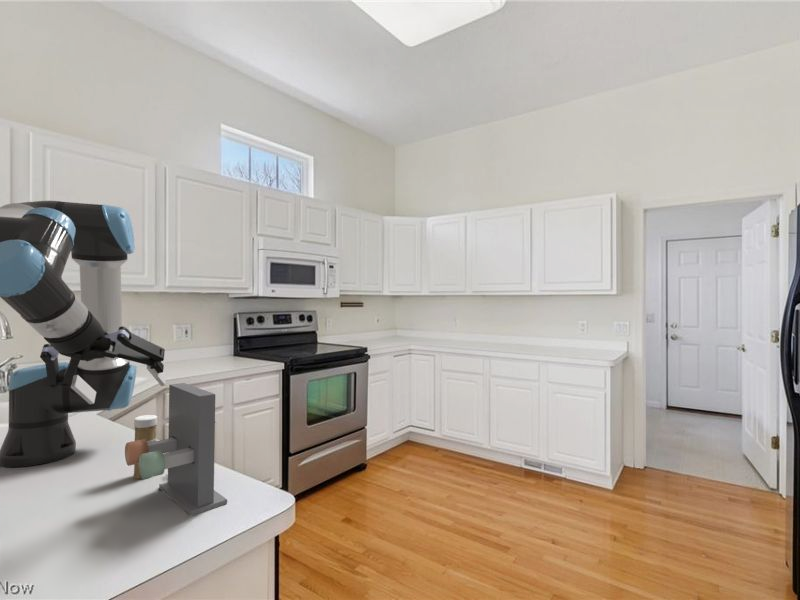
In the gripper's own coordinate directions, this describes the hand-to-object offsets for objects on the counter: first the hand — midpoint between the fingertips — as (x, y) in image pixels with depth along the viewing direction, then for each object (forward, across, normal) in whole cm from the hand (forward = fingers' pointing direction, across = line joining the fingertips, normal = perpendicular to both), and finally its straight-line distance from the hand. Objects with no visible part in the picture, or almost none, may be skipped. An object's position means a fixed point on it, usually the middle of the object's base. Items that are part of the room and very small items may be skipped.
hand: (129, 389), depth 88 cm
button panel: (+16, +6, -19) cm, 25 cm away
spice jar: (+23, -6, -8) cm, 25 cm away
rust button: (+10, +3, -11) cm, 15 cm away
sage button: (+6, +8, -17) cm, 20 cm away
